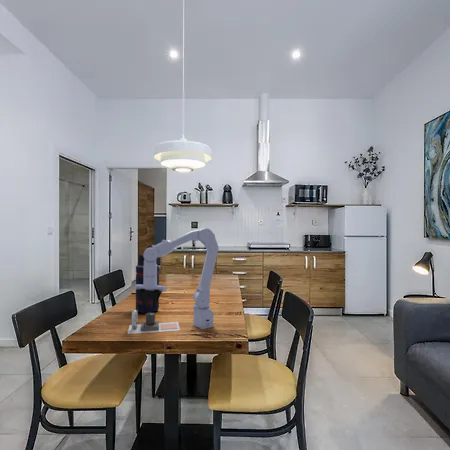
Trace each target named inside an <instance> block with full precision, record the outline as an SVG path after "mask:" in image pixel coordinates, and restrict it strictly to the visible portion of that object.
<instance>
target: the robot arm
mask: <svg viewBox="0 0 450 450" xmlns="http://www.w3.org/2000/svg"><path fill="white" fill-rule="evenodd" d="M190 241H191V242H192V241H197V242H198V241H200V243H202V245H203V246H204V247H205V248H206V255H205V258H204V261H203V262H204V263H203V267H202V271H201V275H200V280H199V284H198V285H197V287H196V288H197V289H196V290H195V292H194V293H193V300H194V301H195V302H194V304H193V321H192V322H193V324H192V325H193V327H196V328H199V329H201V330H204V329H210V328H213V327H214V311H212V309H211V307H210V302H211V298H210V294H211V283H212V279H213V275H214V272H215V271H214V269H215V266H216V261H217V256H218V253H219V249H220V247H219V245H218V242H217V238H216V235H215V233H214V232H213V231H212V230H211V229H210V228H208V227H201V228H199V229H195V230H192V231H189V232H187V233H185V234H182V235H181V236H178V237H176V238H175V239H173V240H170V239H166V240H165V239H162V240H161V242H159V243H157V244H152V245H151V247H147V248H146V249H145V250H144V251H143V256H144V275H143V276H144V281H143V284H137V285H136V284H135V285H134V290H135V291H136V290H137V289H140V291H138V293H139V295H140V297H141V299H142V302H143V306H144V307H146V306H147V305H148V293H149V290H154V291H153V292H151V294H152V298H153V308H155V307H157V303H158V300H159V299H160V297H161V294H162V293H163V292H167V286H166V285H160V284H159V285H157V265H158V264H157V259H158V258H162V257H164V256H166V255H169V254H170V253H172V252H174V249H175V248H176V247H178V246H181V245H183V244H186V243H188V242H190ZM159 301H160V300H159Z"/></svg>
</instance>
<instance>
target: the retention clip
mask: <svg viewBox="0 0 450 450" xmlns="http://www.w3.org/2000/svg"><path fill="white" fill-rule="evenodd" d="M138 313H139V312H138V310H136V309H133V310H131V325H132V329H137V324H139V322H138V319H139V317H138Z"/></svg>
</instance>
